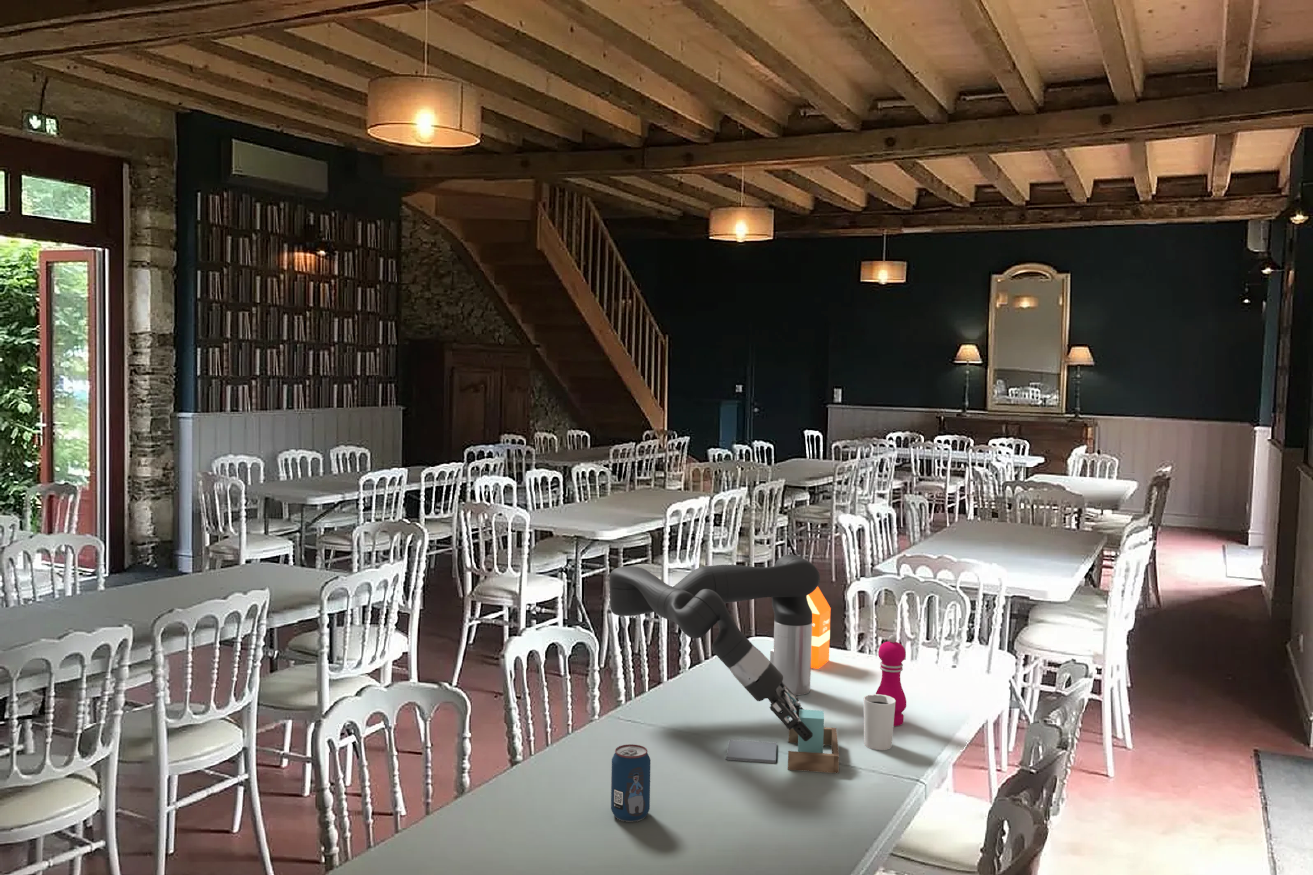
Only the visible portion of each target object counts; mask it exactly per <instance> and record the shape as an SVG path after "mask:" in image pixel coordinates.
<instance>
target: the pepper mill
mask: <svg viewBox="0 0 1313 875" xmlns="http://www.w3.org/2000/svg"><path fill="white" fill-rule="evenodd" d="M897 639H898V638H897V637H896V635H894V634H891V635H889V636H888V641H885V642H883V643H882V644H881V645H880V646H879V648H878V653H877V654H878V658H879V659H880V660H881V662H880V663H879V665H880V667H879V668H880V670H881V681H880V684H879V686H878V688H877V690H876V692H875V694H880V695H886V696H890V697H892V698H894V699H895V700H896V702H895V714H894V725H893V727H899V726H902V725H903V724H904V719H905V718H904V717H905V716H904V714H903V712H904V711H905V710H906V708H907V698H906V695H905V692H904V690H903V687H902V683H901V673H902V672H903V670H904V668H903V666H904V664H903V661H905V659H906V656H907V654H906V649H905V647H904V646H903V645H902V644H901V643H900V642H898V641H897Z"/></svg>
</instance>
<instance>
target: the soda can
mask: <svg viewBox="0 0 1313 875" xmlns="http://www.w3.org/2000/svg"><path fill="white" fill-rule="evenodd" d="M649 755H650V754H648V749H647V748H646V747H645V746H642V745H640V744H623V745H620V746H618V747H616V748H615V750H614V754H613V756H612V758H611V774H610V775H611V784H610V791H611V792H610V793H611V794H610V810H611V812H612V814H613V816H614V817H615V819H616V818H617V819H616V820H618V819H619V820H618V821H620V820H621V821H620V822H624V821H626V822H625V823H634V822H633V821H637V822H641V821H643V820H644V819H645V818H646V817H647V815H648V813H649V812H650V809H651V808H650V806H651V805H650V804H651V803H650V802H651V760H652V759H651V758H650V756H649ZM642 819H643V820H642ZM640 820H641V821H640Z"/></svg>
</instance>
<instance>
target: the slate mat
mask: <svg viewBox="0 0 1313 875" xmlns="http://www.w3.org/2000/svg"><path fill="white" fill-rule="evenodd" d="M725 756H726V759H725V760H726V761H738V762H753V763H754V762H755V763H766V764H767V763H770V764H776V760H777V742H776V741H775V742H773V741H761V740H759V741H758V740H744V739H729V740H728V744H727V751H726V755H725Z"/></svg>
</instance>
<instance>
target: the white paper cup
mask: <svg viewBox="0 0 1313 875" xmlns="http://www.w3.org/2000/svg"><path fill="white" fill-rule="evenodd" d="M895 702H896V700H895V699H894V698H892V697H890V696H886V695H880V694H876V693H875V694H867V695H865V696H864V697H863V744H864V747H866V748H868V749H871V750H875V751H886V750H889V749H892V746H893V738H894V736H893V735H894V726H893V725H894V714H895Z"/></svg>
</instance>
